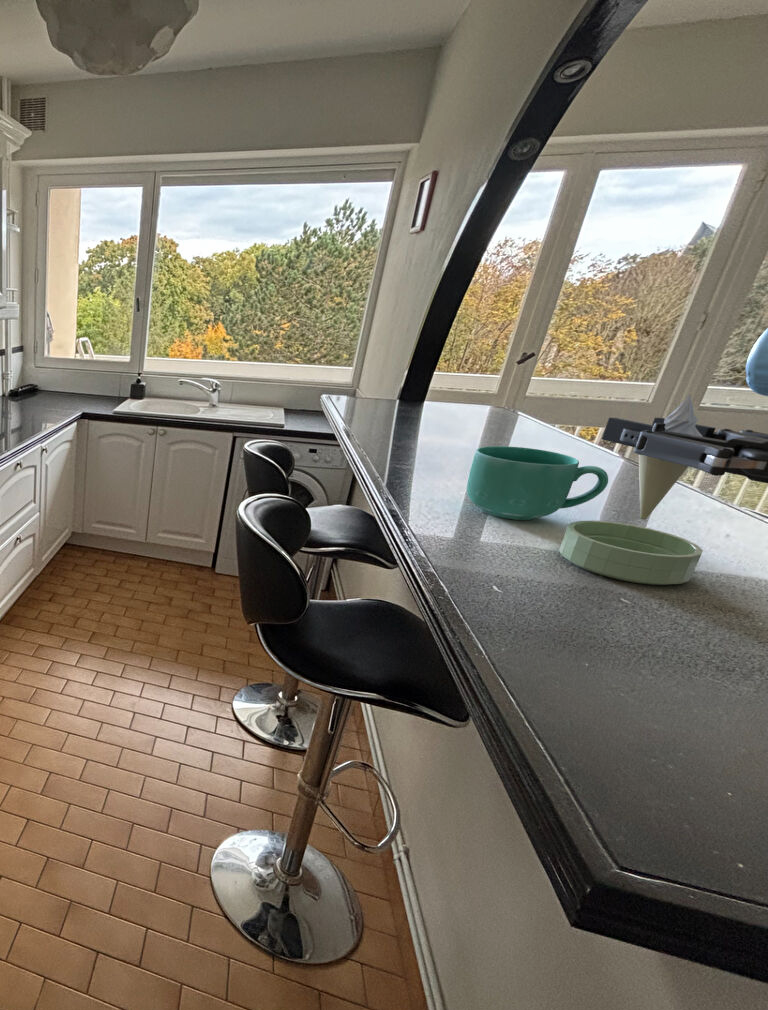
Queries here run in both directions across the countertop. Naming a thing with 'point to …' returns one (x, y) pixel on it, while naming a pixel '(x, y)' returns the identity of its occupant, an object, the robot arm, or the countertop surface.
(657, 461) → the ice cream cone
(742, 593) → the countertop surface
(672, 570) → the bowl
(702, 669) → the countertop surface
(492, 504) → the mug
